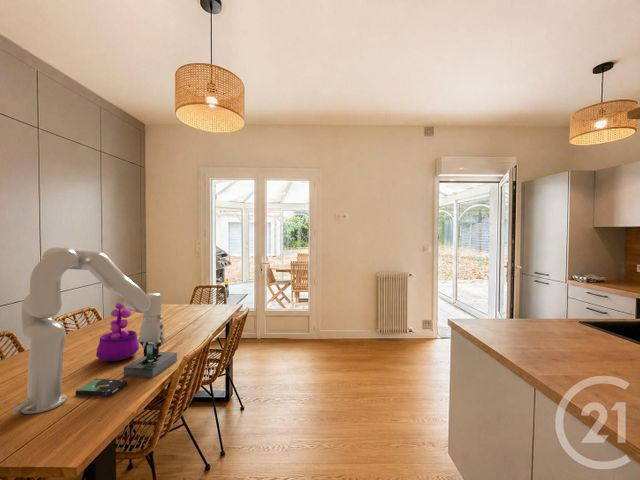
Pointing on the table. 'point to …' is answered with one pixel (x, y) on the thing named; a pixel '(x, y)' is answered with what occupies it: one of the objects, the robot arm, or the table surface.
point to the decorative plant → (118, 338)
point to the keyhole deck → (152, 370)
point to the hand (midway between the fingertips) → (151, 355)
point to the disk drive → (102, 388)
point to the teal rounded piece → (150, 354)
